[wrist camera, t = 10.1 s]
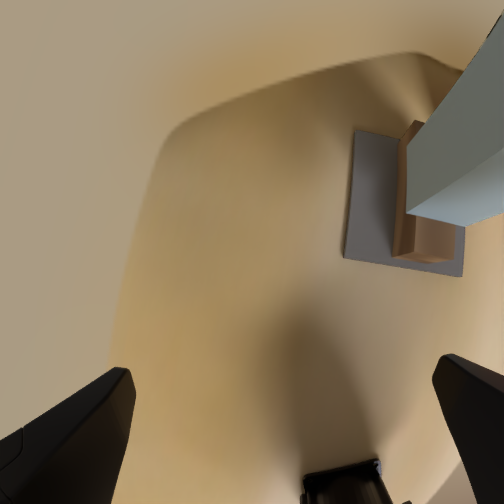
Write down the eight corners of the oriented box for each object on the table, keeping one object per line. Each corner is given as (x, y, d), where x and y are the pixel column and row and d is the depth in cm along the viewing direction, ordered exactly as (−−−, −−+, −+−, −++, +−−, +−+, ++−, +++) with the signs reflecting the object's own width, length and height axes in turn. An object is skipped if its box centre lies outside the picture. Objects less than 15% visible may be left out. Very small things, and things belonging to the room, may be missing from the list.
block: (462, 162, 16) (584, 59, 3) (464, 226, 15) (623, 160, 2) (406, 146, 16) (512, 0, 3) (405, 213, 16) (565, 101, 3)
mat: (459, 160, 20) (462, 158, 20) (458, 277, 19) (462, 276, 19) (354, 133, 21) (355, 129, 21) (343, 257, 21) (344, 257, 20)
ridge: (429, 153, 20) (451, 131, 16) (427, 263, 19) (453, 259, 15) (397, 144, 20) (414, 119, 16) (391, 257, 20) (414, 251, 16)
